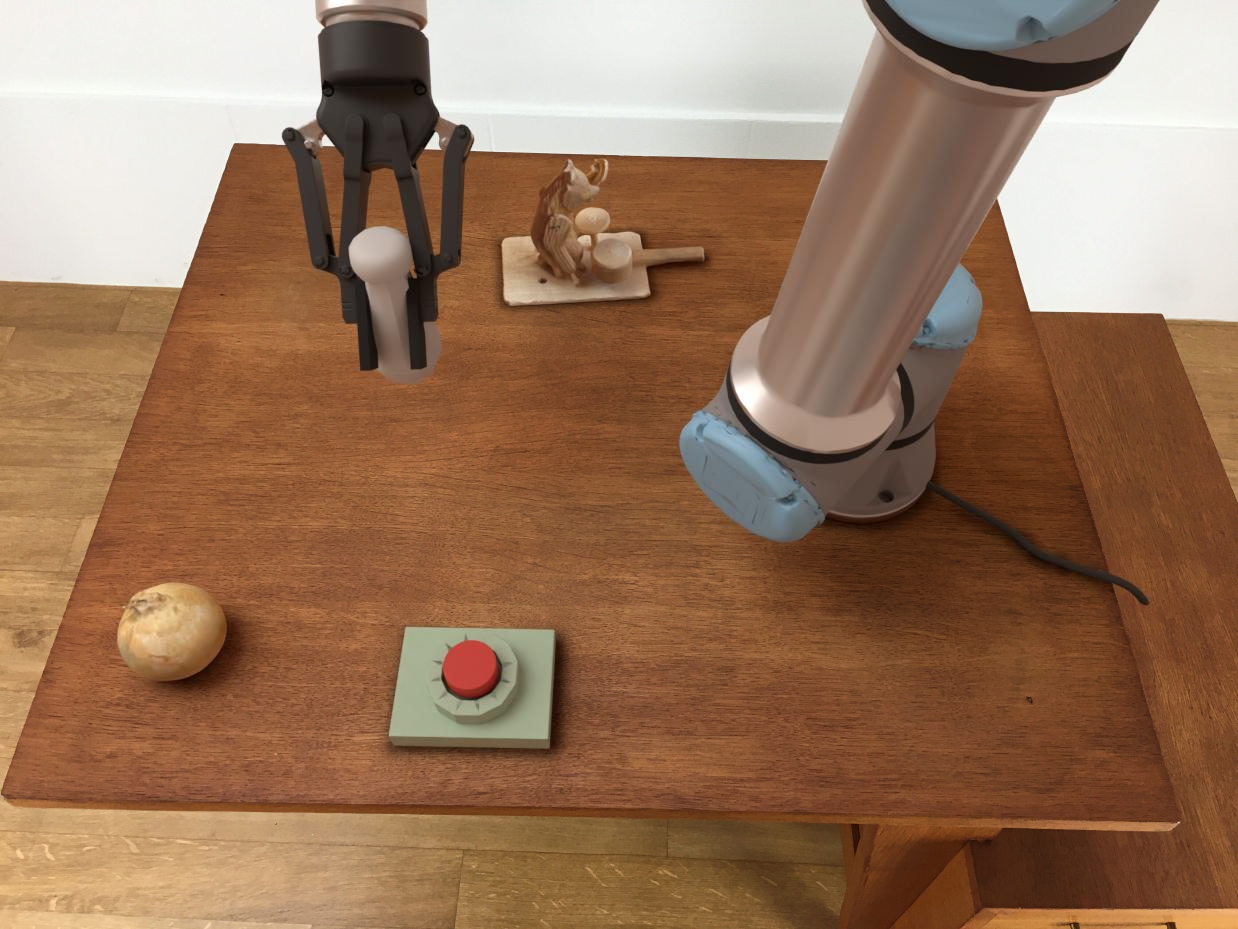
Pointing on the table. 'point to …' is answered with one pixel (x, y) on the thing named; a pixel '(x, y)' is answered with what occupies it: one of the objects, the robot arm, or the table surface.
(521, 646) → the switch base
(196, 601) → the onion
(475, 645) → the switch
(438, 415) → the table surface
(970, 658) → the table surface
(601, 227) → the wooden toy
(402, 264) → the salt shaker
